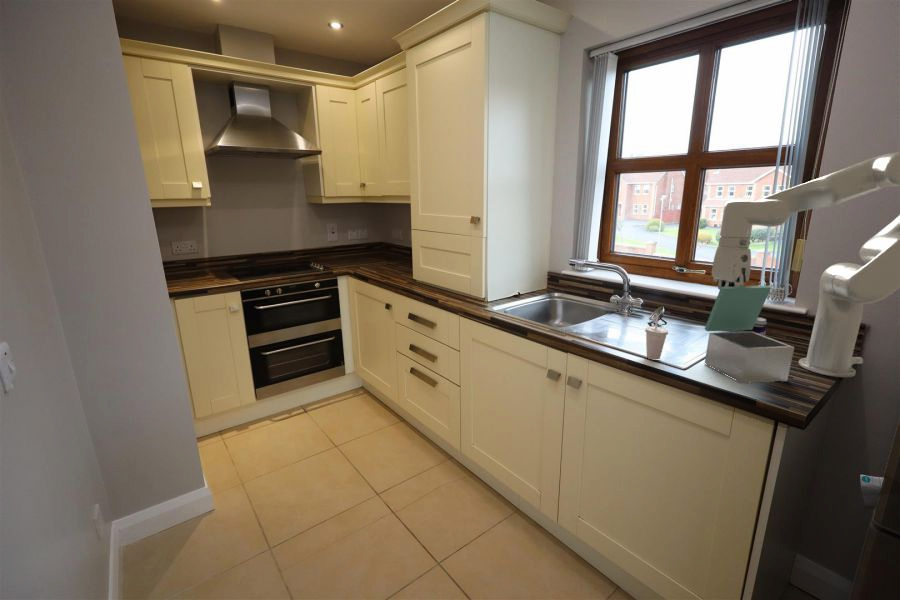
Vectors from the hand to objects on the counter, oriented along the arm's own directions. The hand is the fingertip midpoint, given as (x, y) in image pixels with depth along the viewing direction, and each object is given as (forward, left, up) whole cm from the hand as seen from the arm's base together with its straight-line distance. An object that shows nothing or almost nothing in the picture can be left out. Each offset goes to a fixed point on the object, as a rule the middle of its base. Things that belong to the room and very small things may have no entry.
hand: (724, 302), depth 127 cm
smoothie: (+20, -2, -18) cm, 27 cm away
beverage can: (-14, -2, -18) cm, 23 cm away
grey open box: (0, +11, -18) cm, 21 cm away
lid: (0, +6, -1) cm, 6 cm away
